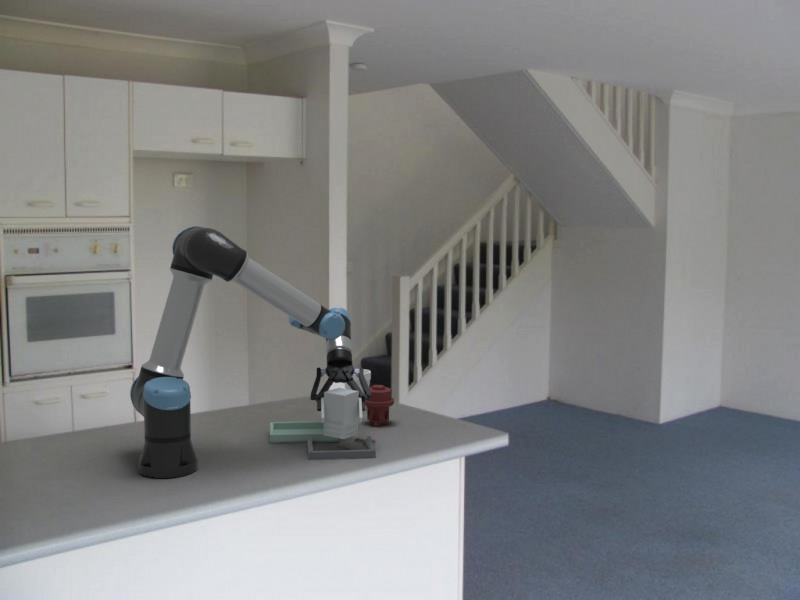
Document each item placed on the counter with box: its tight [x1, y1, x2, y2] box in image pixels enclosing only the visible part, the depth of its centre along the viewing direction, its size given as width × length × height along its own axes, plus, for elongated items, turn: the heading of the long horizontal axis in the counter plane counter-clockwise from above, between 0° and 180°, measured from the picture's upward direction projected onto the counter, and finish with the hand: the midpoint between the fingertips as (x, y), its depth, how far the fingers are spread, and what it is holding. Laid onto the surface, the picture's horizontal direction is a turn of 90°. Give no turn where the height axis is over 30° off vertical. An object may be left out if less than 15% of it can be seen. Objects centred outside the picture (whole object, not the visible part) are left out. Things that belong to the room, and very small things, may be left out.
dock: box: [306, 435, 377, 460], centre depth 235 cm, size 18×15×2 cm
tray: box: [269, 420, 339, 445], centre depth 249 cm, size 20×14×3 cm
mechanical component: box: [365, 384, 395, 427], centre depth 264 cm, size 12×10×10 cm
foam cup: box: [344, 368, 372, 411], centre depth 283 cm, size 10×9×13 cm
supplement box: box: [323, 387, 359, 440], centre depth 234 cm, size 7×7×13 cm
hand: (341, 420), depth 231 cm, fingers closed on supplement box, 10 cm apart
